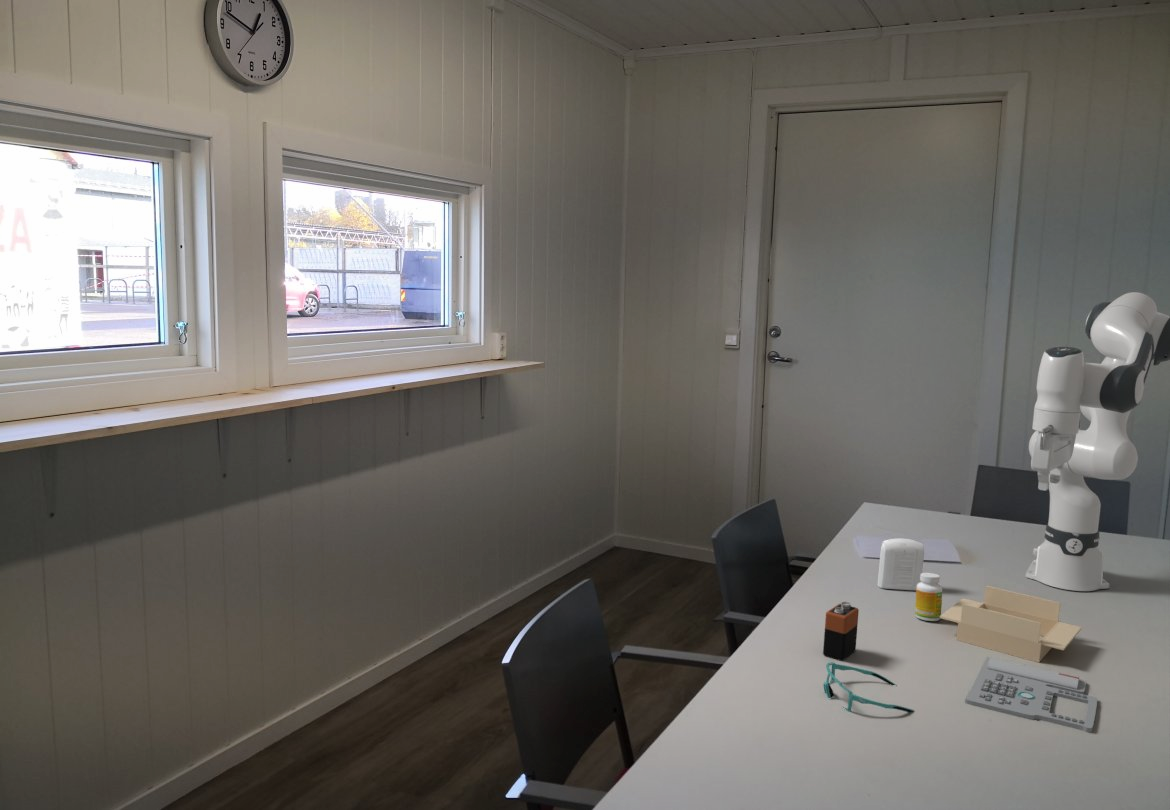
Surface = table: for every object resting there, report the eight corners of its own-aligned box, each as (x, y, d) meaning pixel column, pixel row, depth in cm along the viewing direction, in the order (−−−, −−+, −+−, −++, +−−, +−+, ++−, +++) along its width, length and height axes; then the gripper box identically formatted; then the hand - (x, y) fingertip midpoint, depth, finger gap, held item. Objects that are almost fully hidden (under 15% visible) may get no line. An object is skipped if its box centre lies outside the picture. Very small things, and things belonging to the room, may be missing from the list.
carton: (962, 614, 206) (965, 580, 204) (1080, 644, 190) (1084, 608, 189) (937, 634, 194) (940, 598, 192) (1061, 668, 178) (1065, 629, 177)
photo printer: (917, 586, 224) (922, 537, 222) (923, 592, 220) (927, 542, 218) (875, 584, 225) (879, 535, 223) (879, 589, 221) (883, 540, 219)
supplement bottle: (939, 623, 199) (941, 579, 198) (913, 619, 202) (915, 575, 201) (942, 616, 204) (944, 573, 203) (916, 612, 206) (918, 570, 206)
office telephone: (986, 650, 182) (1101, 675, 171) (985, 662, 182) (1099, 688, 172) (965, 692, 162) (1093, 723, 152) (964, 706, 162) (1091, 738, 152)
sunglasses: (813, 678, 171) (817, 653, 170) (892, 689, 171) (896, 664, 170) (831, 715, 157) (836, 687, 156) (917, 726, 157) (922, 699, 156)
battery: (856, 651, 184) (860, 603, 182) (842, 661, 178) (846, 613, 177) (835, 645, 186) (839, 598, 185) (821, 655, 181) (825, 607, 180)
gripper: (1059, 430, 185) (1052, 496, 187) (1082, 420, 201) (1076, 481, 203) (1026, 426, 189) (1019, 491, 191) (1051, 416, 205) (1045, 476, 207)
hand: (1049, 486), depth 197 cm, fingers open, 8 cm apart
